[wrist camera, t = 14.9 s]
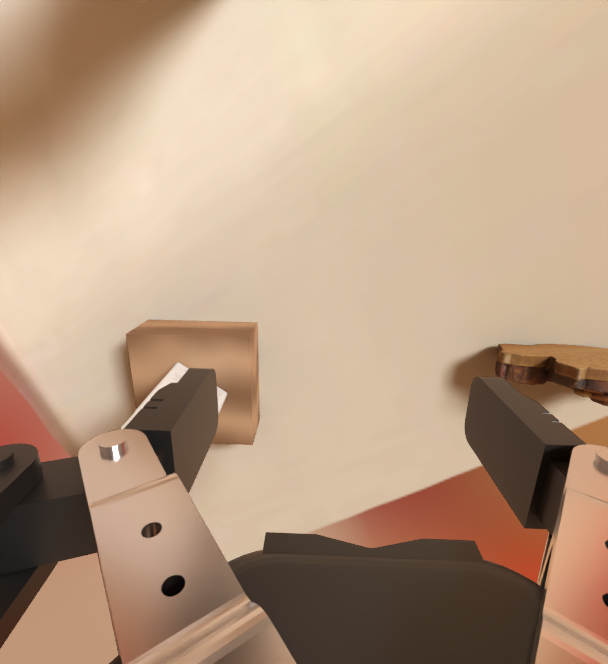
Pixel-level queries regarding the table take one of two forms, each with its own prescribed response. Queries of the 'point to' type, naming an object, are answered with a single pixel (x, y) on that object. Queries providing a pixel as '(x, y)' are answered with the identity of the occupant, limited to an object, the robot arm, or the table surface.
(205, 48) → the table surface
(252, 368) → the walnut block
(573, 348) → the wooden carving
